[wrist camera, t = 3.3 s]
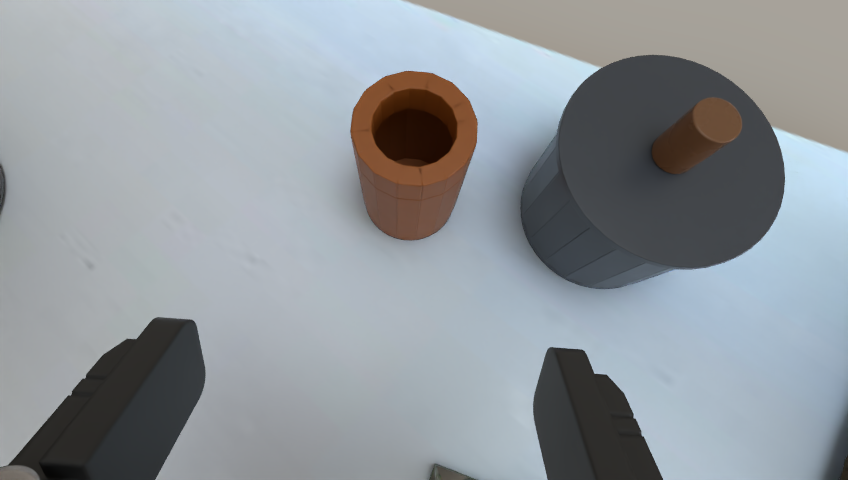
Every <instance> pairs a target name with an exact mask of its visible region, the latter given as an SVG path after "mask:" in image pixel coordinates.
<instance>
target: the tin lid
mask: <svg viewBox="0 0 848 480" xmlns="http://www.w3.org/2000/svg"><path fill="white" fill-rule="evenodd" d="M556 160H557V166H558V171H559V175H560V179H561V181H562V184H563V187H564V190H565V192H566V194H567V196H568V198H569V200H570V202H571V204H572V205H573V207H574V208H575V210H576V211H577V213H578V214H579V216H580V217H581V218H582V219H583V220H584V222H585V223H586V224H587V225H588V226H589V227H590V228H591V229H592V230H593V231H594V232H595V233H596V234H597V235H598V236H599V237H600V238H601V239H603V240H604V241H605V242H607V243H608V244H610V245H611V246H612V247H614V248H615V249H617V250H619V251H620V252H622V253H624V254H626V255H628V256H629V257H632V258H634V259H637V260H639V261H642V262H644V263H647V264H651V265H655V266H658V267H664V268H670V269H699V268H706V267H710V266H714V265H718V264H721V263H724V262H727V261H729V260H731V259H734V258H736V257H738V256H740V255H742V254H743V253H745V252H746V251H748V250H750V249H751V248H752V247H753V246H754V245H755V244H757V243H758V242H759V241H760V240H761V239H762V238H763V236H764V235H765V234H766V233H767V232H768V230H769V229H770V227H771V226H772V224H773V222H774V220H775V219H776V217H777V214H778V212H779V209H780V207H781V203H782V199H783V194H784V185H785V172H784V162H783V158H782V153H781V149H780V146H779V143H778V140H777V137H776V135H775V133H774V131H773V129H772V127H771V125H770V123H769V122H768V120H767V119H766V117H765V116H764V114H763V112H762V111H761V110H760V109H759V107H758V106H757V105H756V104H755V102H753V100H752V99H751V98H750V97H749V96H748V95H747V94H746V93H745V92H744V91H743V90H742V89H740V88H739V87H738V86H737V85H735V84H734V83H733V82H732V81H730V80H729V79H727V78H726V77H724V76H722V75H721V74H719V73H718V72H715V71H714V70H712V69H710V68H708V67H706V66H703V65H701V64H698V63H696V62H693V61H689V60H686V59H682V58H677V57H671V56H663V55H646V56H645V55H644V56H636V57H630V58H626V59H622V60H619V61H617V62H614V63H611V64H609V65H607V66H605V67H603V68H601V69H599V70H598V71H597V72H595V73H594V74H592V75H591V76H590V77H588V78H587V79H586V80H585V81H584V82H583V83H582V84H581V85H580V86H579V88H578V89H577V90H576V91H575V93H574V94H573V95H572V97H571V98H570V100H569V102H568V103H567V105H566V107H565V109H564V111H563V114H562V116H561V119H560V121H559V126H558V130H557V135H556Z"/></svg>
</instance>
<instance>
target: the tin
mask: <svg viewBox="0 0 848 480" xmlns="http://www.w3.org/2000/svg"><path fill="white" fill-rule="evenodd" d="M556 135H557V134H556ZM521 218H522V223H523V227H524V231H525V234H526V236H527V238H528V241H529V243H530V245H531V246H532V248H533V249H534V251H535V253H536V254H537V255H538V256H539V258H540V259H541V260H542V261H543V262H544V263H545V264H546V265H547V266H548V267H549V268H550V269H551V270H553V271H554V272H555V273H557V274H558V275H560V276H561V277H563V278H565V279H567V280H569V281H571V282H573V283H576V284H578V285H582V286H586V287H590V288H597V289H610V288H618V287H622V286H626V285H629V284H633V283H637V282H640V281H643V280H646V279H649V278H651V277H654V276H657V275H660V274H663V273H666V272H669V271H672V270H674V269H670V268H664V267H658V266H655V265H651V264H647V263H644V262H642V261H639V260H637V259H634V258H632V257H629V256H628V255H626V254H624V253H622V252H620V251H619V250H617V249H615V248H614V247H612V246H611V245H610V244H608V243H607V242H605V241H604V240H603V239H601V238H600V237H599V236H598V235H597V234H596V233H595V232H594V231H593V230H592V229H591V228H590V227H589V226H588V225H587V224H586V223H585V222H584V220H583V219H582V218H581V217H580V216H579V214H578V213H577V211H576V210H575V208H574V207H573V205H572V204H571V202H570V200H569V198H568V196H567V194H566V192H565V190H564V187H563V184H562V181H561V179H560V175H559V171H558V166H557V160H556V136H555V137H554V138H553V140H552V141H551V143H550V144H549V146H548V147H547V149H546V150H545V152H544V153H543V155H542V156H541V157H540V159H539V160H538V162H537V163H536V165H535V166H534V168H533V169H532V171H531V172H530V175H529V177H528V179H527V181H526V184H525V186H524V189H523V193H522V198H521Z"/></svg>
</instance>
